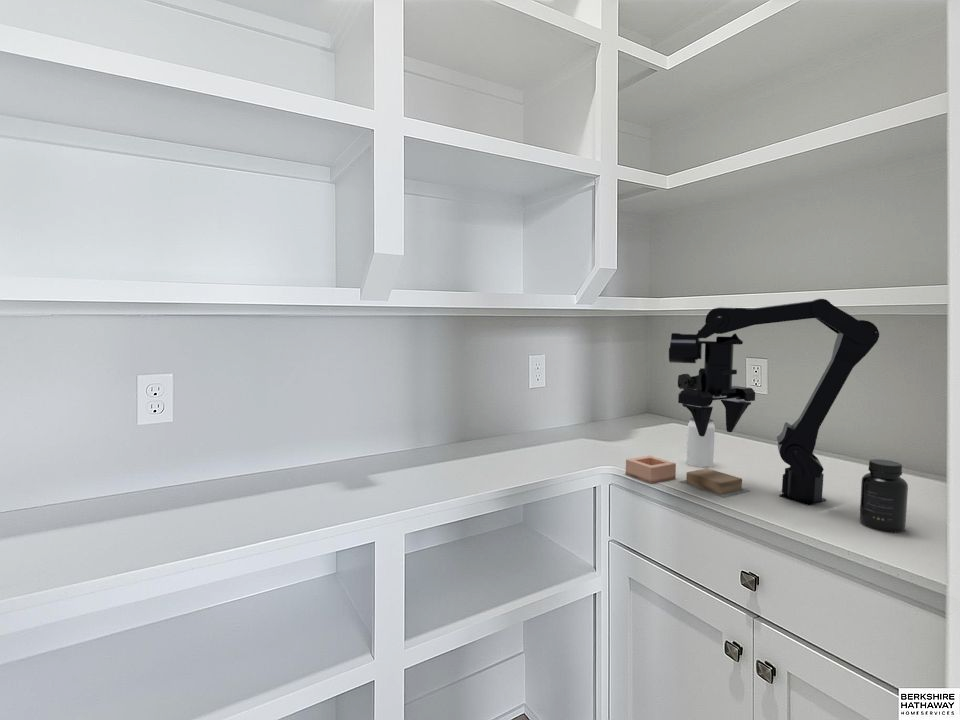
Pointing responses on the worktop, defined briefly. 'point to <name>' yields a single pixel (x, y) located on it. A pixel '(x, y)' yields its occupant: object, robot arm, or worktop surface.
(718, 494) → the mat
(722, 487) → the lid
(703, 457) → the can
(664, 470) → the pink square box
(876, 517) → the supplement bottle
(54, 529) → the worktop surface
